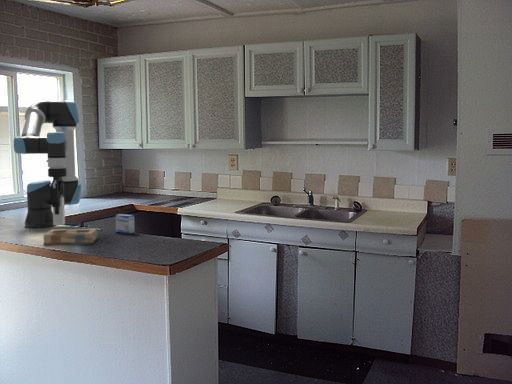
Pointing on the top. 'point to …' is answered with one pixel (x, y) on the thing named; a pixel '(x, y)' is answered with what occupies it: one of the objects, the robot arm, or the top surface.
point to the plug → (61, 212)
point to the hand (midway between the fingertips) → (59, 220)
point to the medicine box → (125, 223)
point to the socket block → (70, 236)
